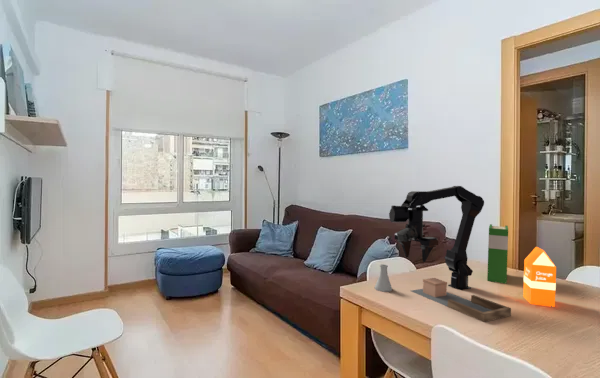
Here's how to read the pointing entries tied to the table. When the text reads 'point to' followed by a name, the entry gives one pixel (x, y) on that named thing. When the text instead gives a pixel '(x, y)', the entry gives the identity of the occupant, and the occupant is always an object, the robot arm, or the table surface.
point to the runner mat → (444, 299)
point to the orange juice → (539, 279)
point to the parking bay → (495, 312)
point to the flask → (383, 280)
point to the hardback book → (497, 254)
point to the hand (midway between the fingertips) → (415, 259)
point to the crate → (434, 287)
